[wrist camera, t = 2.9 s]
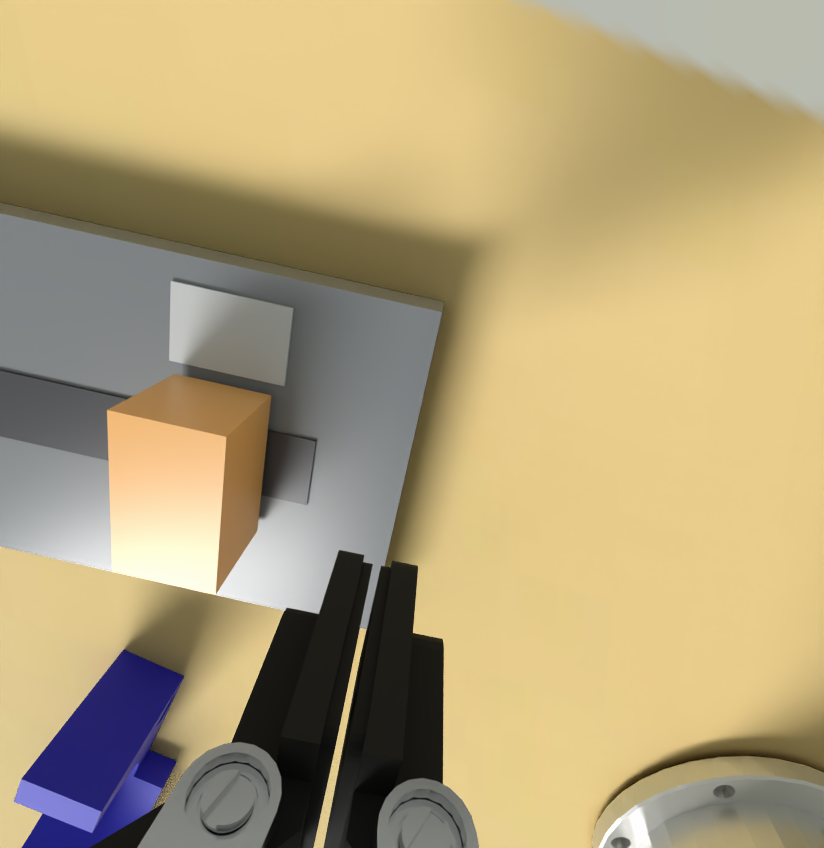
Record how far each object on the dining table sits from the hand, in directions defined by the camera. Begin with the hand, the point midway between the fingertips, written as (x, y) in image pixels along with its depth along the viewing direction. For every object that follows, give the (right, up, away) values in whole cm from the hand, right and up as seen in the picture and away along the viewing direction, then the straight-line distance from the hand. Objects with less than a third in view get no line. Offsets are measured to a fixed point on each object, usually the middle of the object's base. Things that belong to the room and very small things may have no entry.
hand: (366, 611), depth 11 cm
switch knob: (-5, +3, +6) cm, 8 cm away
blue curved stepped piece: (-13, -12, +15) cm, 23 cm away
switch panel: (-12, +5, +8) cm, 15 cm away
